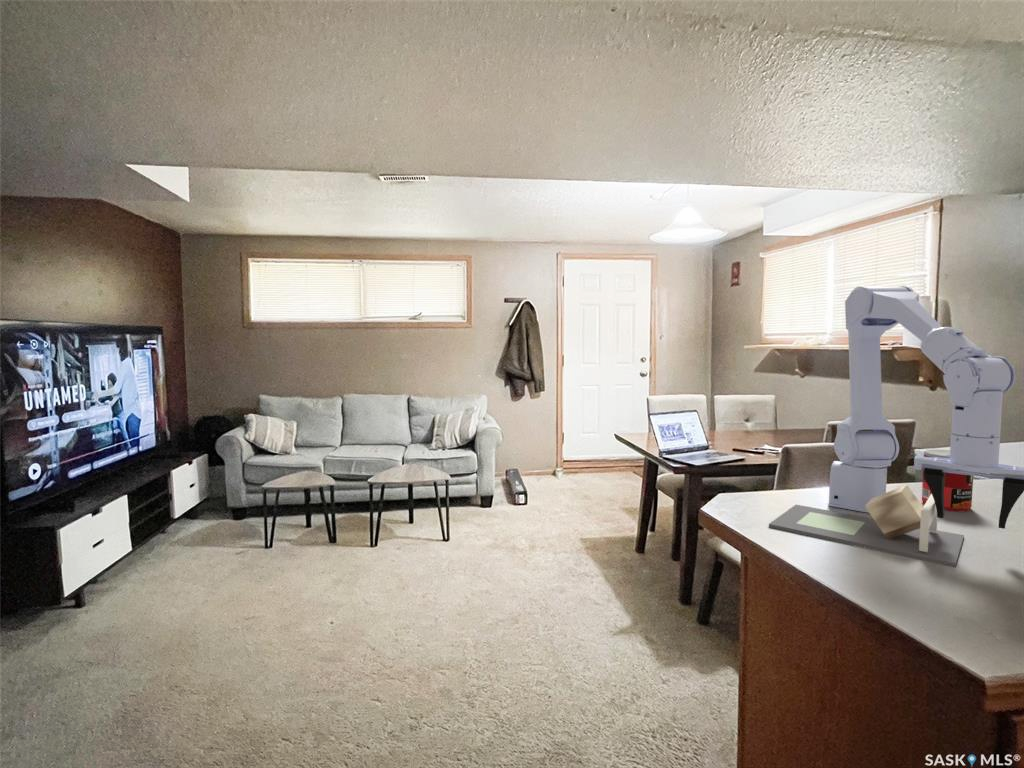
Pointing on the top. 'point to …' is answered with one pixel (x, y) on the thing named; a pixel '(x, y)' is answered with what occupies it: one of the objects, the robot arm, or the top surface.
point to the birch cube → (896, 511)
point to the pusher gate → (927, 523)
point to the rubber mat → (868, 534)
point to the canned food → (951, 486)
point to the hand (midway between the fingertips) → (970, 521)
